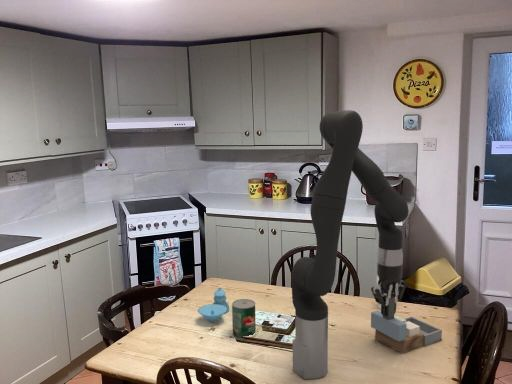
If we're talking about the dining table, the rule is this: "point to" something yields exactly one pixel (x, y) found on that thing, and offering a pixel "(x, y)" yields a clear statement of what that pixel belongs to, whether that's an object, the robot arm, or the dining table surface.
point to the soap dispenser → (215, 307)
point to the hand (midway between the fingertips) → (388, 314)
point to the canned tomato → (243, 318)
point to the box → (427, 331)
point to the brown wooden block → (401, 342)
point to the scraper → (389, 322)
